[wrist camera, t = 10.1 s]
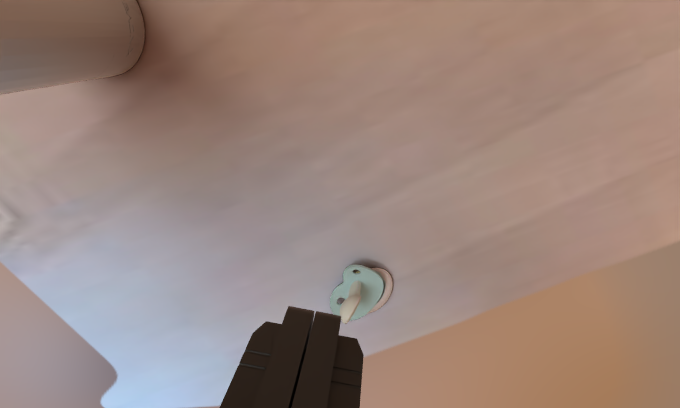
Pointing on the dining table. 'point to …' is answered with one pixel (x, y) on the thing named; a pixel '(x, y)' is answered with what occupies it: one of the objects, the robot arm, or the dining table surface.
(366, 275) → the pacifier
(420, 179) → the dining table surface
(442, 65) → the dining table surface
